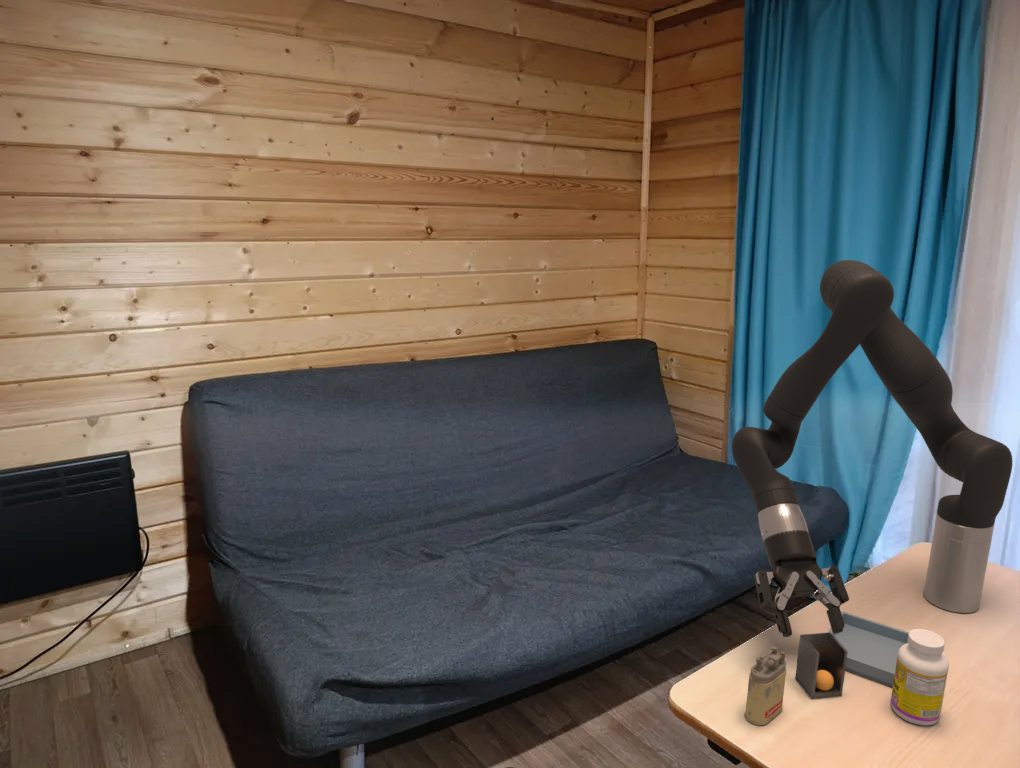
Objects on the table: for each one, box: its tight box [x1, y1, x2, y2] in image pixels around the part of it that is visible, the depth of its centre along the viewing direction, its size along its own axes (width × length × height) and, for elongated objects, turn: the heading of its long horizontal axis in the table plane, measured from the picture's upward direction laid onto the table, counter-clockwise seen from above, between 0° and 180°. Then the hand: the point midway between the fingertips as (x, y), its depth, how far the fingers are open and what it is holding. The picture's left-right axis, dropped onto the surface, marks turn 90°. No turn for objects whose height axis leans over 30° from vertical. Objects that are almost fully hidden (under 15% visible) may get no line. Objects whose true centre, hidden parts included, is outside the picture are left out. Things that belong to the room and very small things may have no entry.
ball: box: [816, 670, 834, 691], centre depth 115 cm, size 3×3×3 cm
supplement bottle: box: [890, 628, 950, 726], centre depth 110 cm, size 7×7×13 cm
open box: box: [794, 631, 848, 700], centre depth 116 cm, size 5×5×8 cm
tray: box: [827, 610, 910, 688], centre depth 125 cm, size 14×12×2 cm
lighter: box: [744, 645, 787, 726], centre depth 110 cm, size 7×4×10 cm, turn 130°
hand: (813, 634), depth 117 cm, fingers open, 8 cm apart
